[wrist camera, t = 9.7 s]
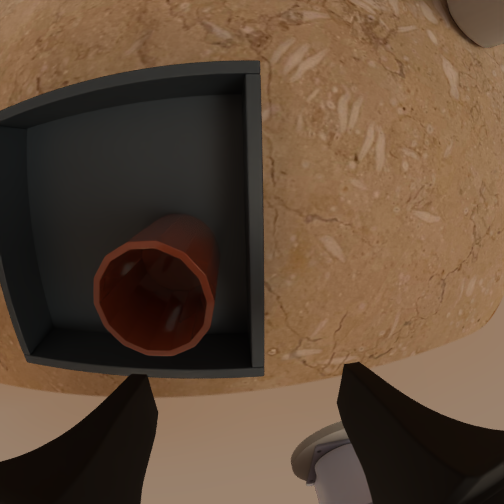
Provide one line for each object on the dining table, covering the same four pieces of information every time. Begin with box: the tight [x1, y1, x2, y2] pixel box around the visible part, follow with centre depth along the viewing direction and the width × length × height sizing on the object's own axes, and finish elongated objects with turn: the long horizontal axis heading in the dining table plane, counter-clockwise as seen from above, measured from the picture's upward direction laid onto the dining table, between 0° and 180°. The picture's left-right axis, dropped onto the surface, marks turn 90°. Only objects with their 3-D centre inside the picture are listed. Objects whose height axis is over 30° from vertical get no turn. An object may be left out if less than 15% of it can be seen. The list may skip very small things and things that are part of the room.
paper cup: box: [94, 213, 220, 356], centre depth 14 cm, size 5×5×7 cm
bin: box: [0, 61, 264, 378], centre depth 15 cm, size 16×16×5 cm
